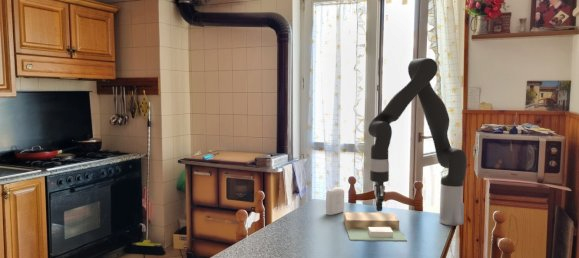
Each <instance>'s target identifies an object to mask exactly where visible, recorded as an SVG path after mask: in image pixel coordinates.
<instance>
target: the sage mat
mask: <svg viewBox="0 0 579 258" xmlns="http://www.w3.org/2000/svg"><path fill="white" fill-rule="evenodd" d="M346 231H347V234H348V238H349V240H350V241H356V242H357V241H358V242H359V241H360V242H361V241H365V242H367V241H368V242H369V241H372V242H373V241H374V242H375V241H376V242H407V241H408V240H407V238H406V237H405V236H404V234H403V232H402V231H401V230H400V229H399V230H396V229H392V231H393V237H370V235H369V233H368V229H346Z"/></svg>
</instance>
